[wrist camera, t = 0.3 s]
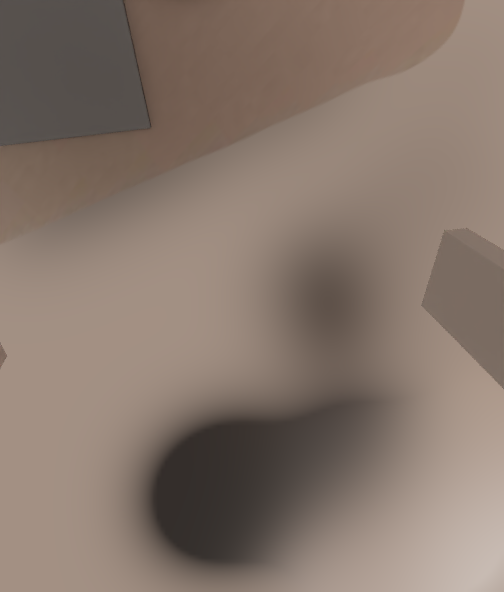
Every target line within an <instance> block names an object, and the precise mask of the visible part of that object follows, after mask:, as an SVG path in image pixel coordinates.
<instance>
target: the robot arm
mask: <svg viewBox="0 0 504 592" xmlns="http://www.w3.org/2000/svg"><path fill="white" fill-rule="evenodd" d="M422 307H424V308H425V309H426V311H427V312H428V313H429V314H430V315H432V317H433V318H434V319H435V320H436V321H437V322H438V323H439V324H440V325H441V326H442V327H443V328H444V329H445V330H446V331H447V332H448V333H449V334H450V335H451V336H452V337H453V338H454V339H455V340H456V341H457V342H458V343H459V344H460V345H461V346H462V347H463V348H464V349H465V350H466V351H467V352H468V353H469V354H470V355H471V356H472V357H473V358H474V359H475V360H476V361H477V362H478V363H479V364H480V365H481V366H482V367H483V368H484V369H485V370H486V371H487V372H488V373H489V374H490V375H491V376H492V377H493V378H494V379H495V381H497V382H498V384H499V385H500V386H502V388H503V389H504V250H503V249H501V248H500V247H498V246H496V245H495V244H493V243H491V242H489V241H488V240H486V239H484V238H483V237H481V236H479V235H478V234H476V233H474V232H473V231H471V230H469V229H467V228H466V229H455V230H444V233H443V236H442V240H441V243H440V246H439V249H438V253H437V256H436V260H435V262H434V266H433V269H432V273H431V276H430V279H429V282H428V285H427V289H426V292H425V295H424V298H423V301H422ZM6 357H7V355H6V353H5V351H4V349H3V347H2V345H1V344H0V367H1V366H2V364H3V362H4V360H5V359H6Z"/></svg>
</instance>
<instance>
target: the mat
mask: <svg viewBox="0 0 504 592" xmlns="http://www.w3.org/2000/svg"><path fill="white" fill-rule="evenodd" d="M146 128H151V124H150V120H149V115H148V111H147V106H146V102H145V97H144V93H143V88H142V83H141V79H140V74H139V70H138V65H137V61H136V56H135V52H134V47H133V43H132V38H131V33H130V29H129V24H128V20H127V15H126V11H125V6H124V2H123V0H0V146H3V145H12V144H20V143H29V142H37V141H45V140H54V139H62V138H71V137H79V136H87V135H96V134H104V133H113V132H121V131H129V130H138V129H146Z"/></svg>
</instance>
